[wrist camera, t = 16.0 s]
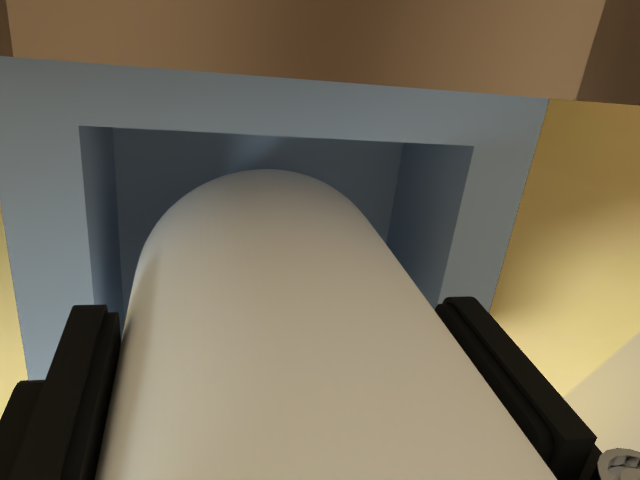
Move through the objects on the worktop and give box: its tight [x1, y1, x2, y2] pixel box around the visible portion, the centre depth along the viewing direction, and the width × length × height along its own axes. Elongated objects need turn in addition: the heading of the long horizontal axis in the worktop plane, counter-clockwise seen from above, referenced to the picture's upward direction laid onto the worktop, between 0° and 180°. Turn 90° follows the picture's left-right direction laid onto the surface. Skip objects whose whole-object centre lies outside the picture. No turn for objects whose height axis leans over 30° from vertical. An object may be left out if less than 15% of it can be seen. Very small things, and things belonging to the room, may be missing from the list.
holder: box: [0, 56, 550, 380], centre depth 15 cm, size 11×11×5 cm
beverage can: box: [95, 169, 557, 480], centre depth 9 cm, size 6×6×12 cm
